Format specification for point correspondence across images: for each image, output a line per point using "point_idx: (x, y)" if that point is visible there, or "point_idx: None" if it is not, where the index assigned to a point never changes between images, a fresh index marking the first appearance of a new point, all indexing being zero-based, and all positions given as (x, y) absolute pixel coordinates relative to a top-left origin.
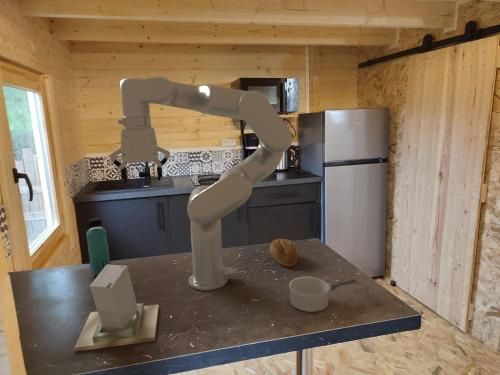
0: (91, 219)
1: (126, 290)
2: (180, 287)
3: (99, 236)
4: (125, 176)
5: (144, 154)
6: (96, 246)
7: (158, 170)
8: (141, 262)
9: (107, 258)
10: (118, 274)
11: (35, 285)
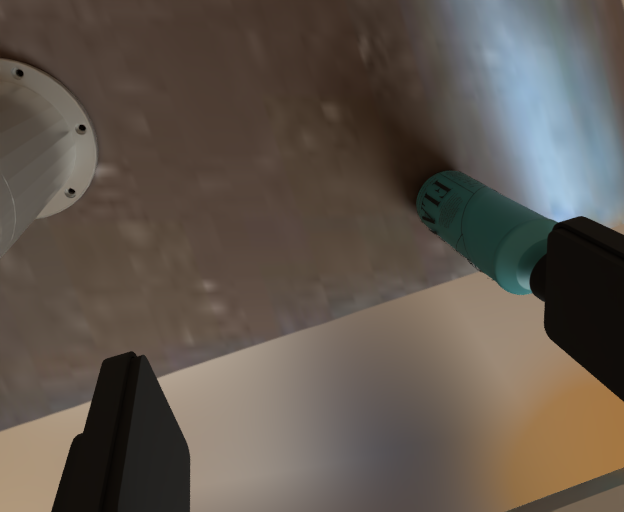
0: None
1: None
2: (118, 93)
3: (508, 227)
4: (618, 257)
5: None
6: (497, 204)
7: (86, 481)
8: (331, 284)
9: (438, 210)
10: None
11: (607, 118)
